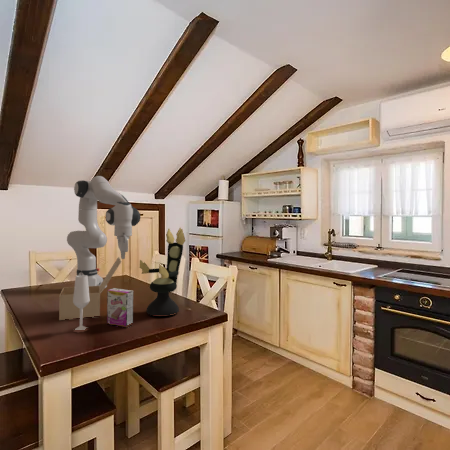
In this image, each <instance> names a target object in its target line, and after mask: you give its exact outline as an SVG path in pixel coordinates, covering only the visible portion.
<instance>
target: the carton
mask: <svg viewBox="0 0 450 450" xmlns="http://www.w3.org/2000/svg"><path fill="white" fill-rule="evenodd" d="M74 288H75V286H72V287H71V286H69V287H62V288H61V292H60V294H59V296H58V297H59V307H58V310H59V312H58V313H59V314H58V316H59V317H58V320H59V321H66V320H65V319H69V320H74V319H73V318H80V308H78V307H77V306H75V305H74V303H73V296H74ZM89 297H90V301H89V303H88V304H87V305H86V306H85V307H84V308H83V319H85V318H84V317H92V318H95V317H94V316H100V317H101V293H100V286H89Z"/></svg>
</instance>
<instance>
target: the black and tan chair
mask: <svg viewBox="0 0 450 450" xmlns="http://www.w3.org/2000/svg"><path fill="white" fill-rule="evenodd" d="M167 229H168V230H166V231H167V232H166V241H165V242H167V244H168V245H167V256H166V257H167V259H166V267H164V266H162V265H161V264H158V268H150V267H149V266H148V264H147V263H146V262H145V261H143V260H141V259H139V269H141V274H144V275H145V274H155V273H156V274H157V273H158V274H160V277H158V278H156V279H154V280H153V281H151V283H150V284H149V289H150V290H151V291H152V292H153V293H156V295H157V296H156V297H155V299H154V300H152V301H151V302H150V303H149V305H147V307H146V313H147V314H148V315H149V314H150V315H149V316H151V315H170V314H174V313H177V312H178V313H179V312H180V308H179V306H178V304H177V303H176V302H175V301H174V300H173V299H172V298H171V297H170V294H169V293H172V292H174V291H176V289H177V287H178V284H177V283H178V282H177V281H178V277H179V276H178V275H179V269H180V266H181V260H182V256H183V251H184V243H185V242H186V237H185V234H184V233H185V232H184V230H183V228H182V227H181V226H179V229H178V230H177V232H176V238H175V237H174V235H173V233H172V232H171V230H170V229H171V228H167ZM178 313H177V314H178Z"/></svg>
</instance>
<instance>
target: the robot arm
mask: <svg viewBox="0 0 450 450" xmlns="http://www.w3.org/2000/svg"><path fill="white" fill-rule="evenodd" d="M73 191H74V194H75V196H76V197H78V198H79V202H78V223H80V224H81V225H83V227H84V228H85V230H75V231H74V230H73V231H70V232H68V234H67V237H66V242H67V244H68V246H70V247H71V248H72V250H74V252H75V255H76V260H77V262H76V263H77V266H76V267H77V269H76V272H75V273H76V276H78V275H87V276H88V286H100V285H101V283H102V282H103V280H104V278H103V277H102V276H101V275H99V274H98V272H100V270H101V269H100V268H99V267H97V257H96V256H95V254H93V253H92V252H91V251H90V249H100V248H104V247H105V246H106V245H107V242H108V237H107V235H106V233H105V232H103V231H102V229H101V228H100V226H99V223H98V202H99V203H102V204H106V205H112V206H113V207H111V208H108V210H106V211H105V221H106V223H107V224H108V225H110V226H114V231H113V232H114V234H113V235H114V236H116V239H117V246H118V249H119V251H120V260H125V259H126V253H128V252H129V239H130V237H132V236H133V227H135V226H136V225H138V224H139V223H140V221H141V212H139V210H138V209H137V208H135V207H134V206H133V205H132V204H131V202H130V201H129V200H127V198H126V197H125V196H124V195H123V194H121V193H120V192H118V191H117V190H116V189H114V187H113V186H112V185H111V184H110V182H109V181H108V180H107V178H105V177H104V176H102V175H97V176H94V177H93V178H92V179H90V180H84V179H83V180H82V179H81V180H78V181H76V182H75V184H74V186H73ZM74 279H76V277H75V278H74ZM107 287H108V284H107V285H106V287H105V288H104V289H106V288H107Z"/></svg>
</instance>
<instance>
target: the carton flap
mask: <svg viewBox="0 0 450 450" xmlns="http://www.w3.org/2000/svg"><path fill="white" fill-rule="evenodd" d="M121 263H122V259H121V256H118V257H117V258H116V260H115V261H114V263H113V265H112V266H111V267H110V269H109V271H108V272H107V274H106V275H105V277H104V278H103V282H102V283H101V285H100V294H102V293H103V291H104V290H105V289H106V288H107V287H106V285H107V286H108V284H109V282H110V280H111V279H112V277H113V276H114V274H115V273H116V271H117V270H118V268H119V266H120V264H121ZM105 287H106V288H105Z"/></svg>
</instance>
